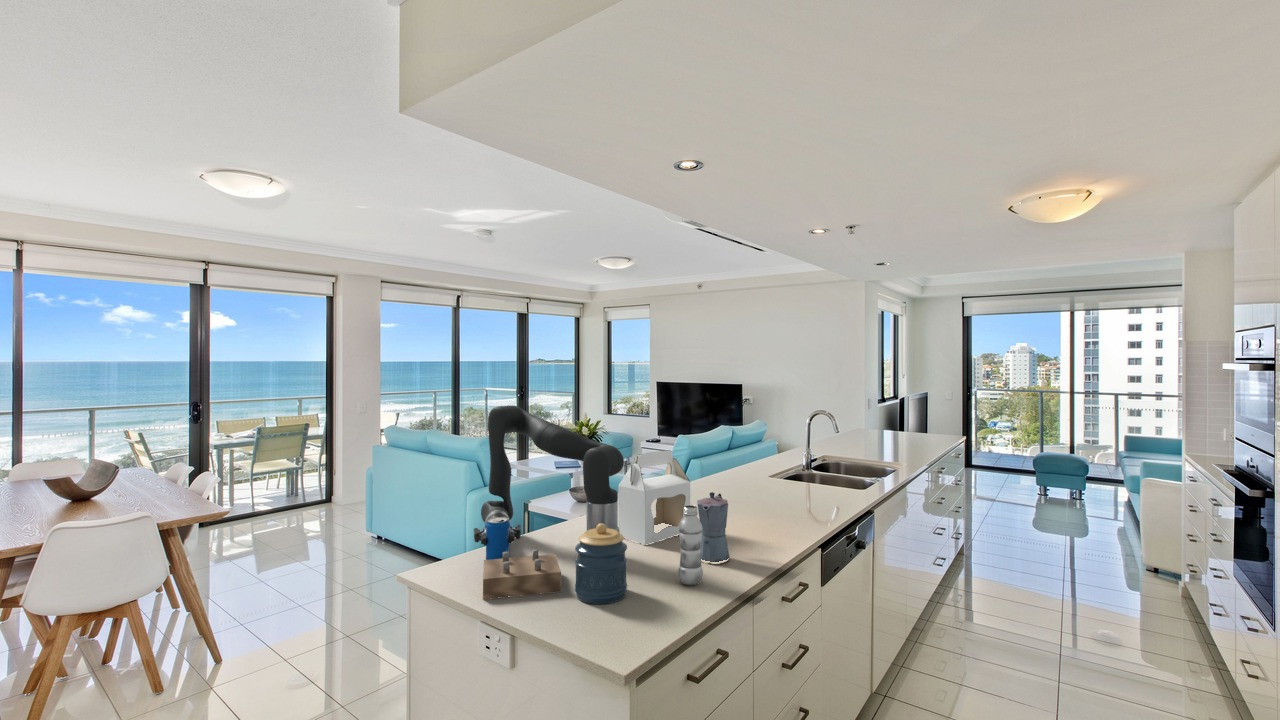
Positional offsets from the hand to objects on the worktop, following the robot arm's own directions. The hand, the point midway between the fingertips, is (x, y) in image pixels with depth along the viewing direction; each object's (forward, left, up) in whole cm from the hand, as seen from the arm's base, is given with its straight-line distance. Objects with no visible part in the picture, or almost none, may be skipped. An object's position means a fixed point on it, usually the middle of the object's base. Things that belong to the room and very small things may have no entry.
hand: (497, 540), depth 157 cm
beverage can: (0, -2, -7) cm, 7 cm away
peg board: (-6, +14, -8) cm, 17 cm away
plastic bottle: (-49, +24, -8) cm, 55 cm away
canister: (-25, +25, -8) cm, 36 cm away
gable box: (-52, -20, -8) cm, 56 cm away
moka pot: (-62, +8, -8) cm, 63 cm away
